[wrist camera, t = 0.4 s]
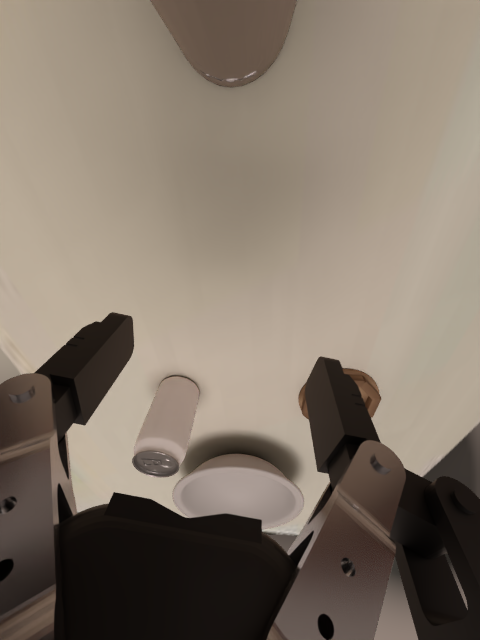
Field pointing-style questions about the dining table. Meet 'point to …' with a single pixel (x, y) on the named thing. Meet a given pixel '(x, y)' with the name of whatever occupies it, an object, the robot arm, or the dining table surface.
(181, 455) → the can
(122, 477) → the dining table surface
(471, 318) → the dining table surface
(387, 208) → the dining table surface
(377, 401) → the octagonal wooden coaster
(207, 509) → the soup bowl
